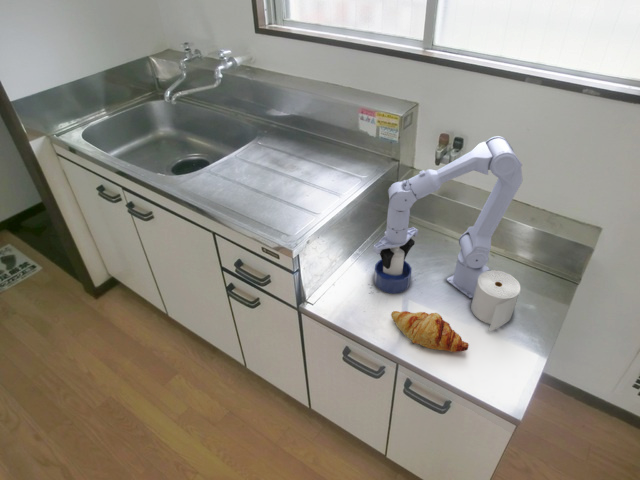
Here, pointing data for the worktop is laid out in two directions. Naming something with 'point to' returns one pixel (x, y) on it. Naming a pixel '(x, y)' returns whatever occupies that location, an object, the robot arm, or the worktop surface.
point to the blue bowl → (392, 279)
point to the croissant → (429, 331)
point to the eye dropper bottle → (395, 262)
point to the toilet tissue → (495, 298)
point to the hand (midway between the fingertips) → (393, 263)
